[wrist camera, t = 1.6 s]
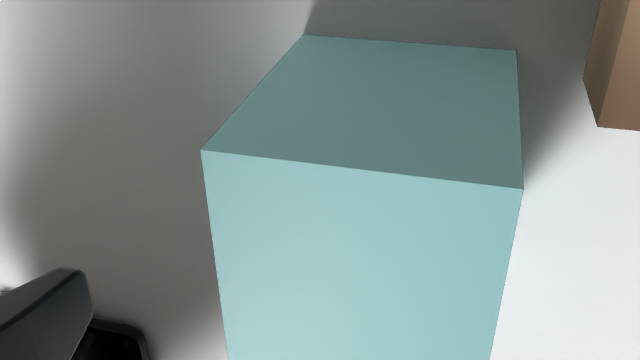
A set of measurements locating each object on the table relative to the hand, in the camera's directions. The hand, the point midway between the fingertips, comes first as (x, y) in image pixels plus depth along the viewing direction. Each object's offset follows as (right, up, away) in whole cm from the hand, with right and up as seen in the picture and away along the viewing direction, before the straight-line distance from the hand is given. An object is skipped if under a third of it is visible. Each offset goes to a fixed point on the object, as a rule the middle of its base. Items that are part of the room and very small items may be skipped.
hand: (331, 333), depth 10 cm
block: (+2, +4, +6) cm, 7 cm away
